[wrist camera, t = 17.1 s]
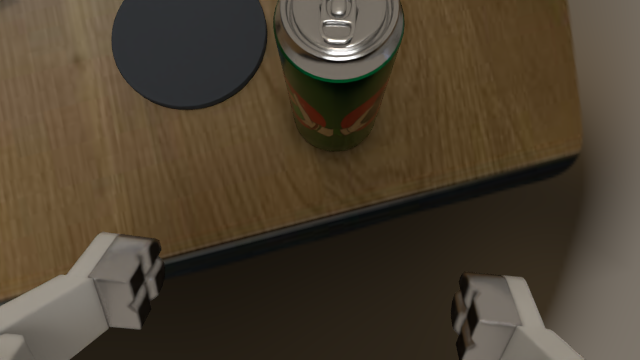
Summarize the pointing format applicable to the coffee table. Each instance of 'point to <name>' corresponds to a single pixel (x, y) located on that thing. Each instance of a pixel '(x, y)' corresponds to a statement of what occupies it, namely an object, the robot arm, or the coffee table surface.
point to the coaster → (188, 48)
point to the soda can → (337, 64)
